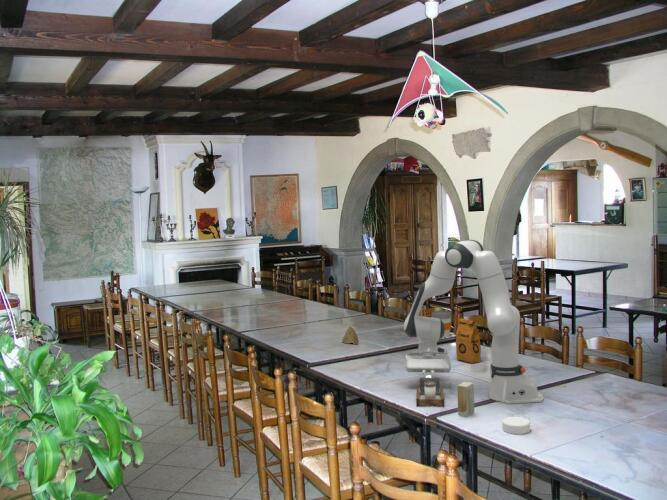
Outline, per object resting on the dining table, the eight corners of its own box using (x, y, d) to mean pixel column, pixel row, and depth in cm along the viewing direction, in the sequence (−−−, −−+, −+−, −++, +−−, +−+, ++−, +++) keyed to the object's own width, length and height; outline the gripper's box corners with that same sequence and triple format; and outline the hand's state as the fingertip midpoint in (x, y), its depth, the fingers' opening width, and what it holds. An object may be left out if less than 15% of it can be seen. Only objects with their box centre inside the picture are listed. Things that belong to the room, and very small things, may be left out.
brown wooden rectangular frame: (442, 393, 287) (442, 386, 287) (444, 406, 269) (444, 399, 269) (416, 393, 289) (416, 386, 288) (416, 406, 271) (416, 399, 270)
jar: (436, 400, 277) (435, 381, 276) (436, 404, 272) (435, 384, 272) (424, 400, 278) (424, 381, 277) (424, 404, 273) (424, 384, 272)
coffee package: (469, 364, 333) (468, 322, 332) (453, 360, 344) (452, 319, 342) (484, 361, 338) (483, 320, 337) (468, 357, 349) (467, 316, 347)
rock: (363, 340, 390) (358, 335, 399) (355, 330, 387) (350, 325, 396) (349, 352, 388) (344, 346, 398) (341, 342, 386) (336, 336, 395)
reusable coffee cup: (431, 338, 398) (431, 314, 397) (432, 334, 410) (431, 310, 409) (452, 338, 396) (452, 314, 395) (452, 334, 408) (451, 310, 407)
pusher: (439, 390, 290) (438, 375, 290) (439, 394, 285) (439, 378, 285) (420, 390, 291) (419, 375, 291) (420, 394, 286) (419, 378, 286)
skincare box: (465, 410, 263) (464, 381, 262) (474, 412, 260) (474, 382, 259) (457, 415, 258) (456, 384, 257) (467, 417, 255) (466, 386, 254)
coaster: (534, 434, 236) (534, 424, 235) (507, 435, 235) (507, 426, 234) (524, 424, 245) (524, 415, 245) (498, 426, 245) (498, 417, 244)
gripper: (405, 349, 299) (405, 376, 290) (450, 349, 296) (451, 376, 287) (405, 356, 303) (405, 383, 294) (450, 356, 301) (451, 383, 292)
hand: (428, 380), depth 291 cm, fingers closed
